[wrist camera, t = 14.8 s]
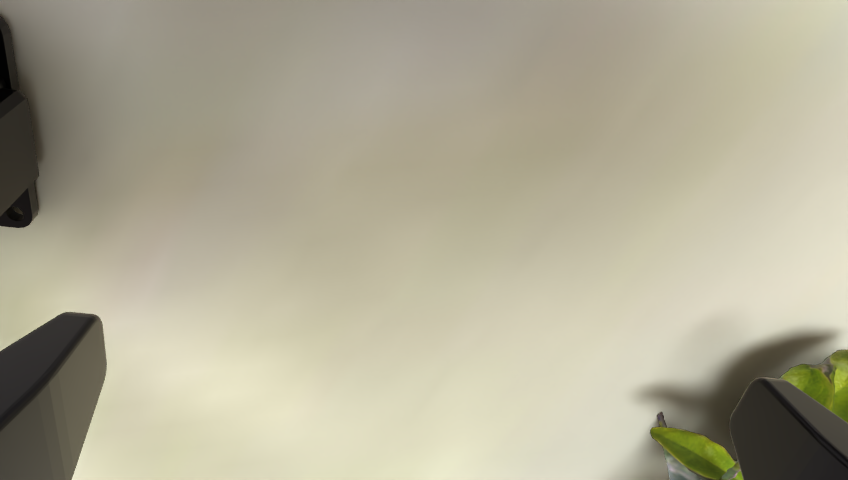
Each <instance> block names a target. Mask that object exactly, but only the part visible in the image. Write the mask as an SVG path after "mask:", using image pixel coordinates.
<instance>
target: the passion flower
mask: <svg viewBox="0 0 848 480" xmlns="http://www.w3.org/2000/svg"><path fill="white" fill-rule="evenodd" d="M779 379H783V380H786V381H788V382H790V383H791V384H793V385H794V386H796V387H797V388H798V389H800V390H801V391H803V392H804V393H806V394H807V395H808V396H810V397H811V398H813V399H814V400H816V401H817V402H818V403H820V404H821V405H823V406H824V407H826V408H827V409H828V410H830V411H831V412H833V413H834V414H836V415H837V416H839V417H840V418H841V419H843V420H844V421H846V422H847V423H848V350H837V352H835V353H833V354H832V355H831V356H829V357H828V358H826V359H825V360H824V362H823V363H821V364H818V365H807V364H801V365H798V366H795V367H792V368H790V369H789V371H788V372H786V373H785V374H783V375H782V376H781V377H780V378H779ZM657 417H658V421H659V425H660V427H654V428H652V429H651V430H650V433H651V436H652V438H653V439H655V440H656V441H657V442H658V443H659V444H660V445H661V446H662V447H663V449H664V454H665V459H666V462H667V466H668V472H669V479H670V480H743V477H742V473H741V470H740V466H739V463H738V460H737V461H736V460H733V459H732V458H731V456H730V454H729V453H728V452H727V450H726V449H725V448H724V447H723V446H722V445H720V444H717V443H714V442H713V441H711V440H710V439H709V438H708V437H706V436H704V435H701V434H697V433H693V432H690V431H687V430H683V429H676V428H667V426H666V423H665V421H664V416H663V413H662V412H661V413H660V414H658V415H657Z"/></svg>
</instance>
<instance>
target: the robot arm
mask: <svg viewBox="0 0 848 480" xmlns="http://www.w3.org/2000/svg"><path fill="white" fill-rule="evenodd" d="M38 176H39V171H38V164H37V157H36V151H35V144H34V138H33V131H32V125H31V118H30V111H29V105H28V100H27V98H26V97H25V96H24V94H23V93H22V92H21V91H20V90H19V84H18V78H17V72H16V65H15V59H14V53H13V46H12V40H11V34H10V30H9V27H8V24H7V23H6V22H5V20H4V19H3V18H2V17H1V16H0V226H6V227H16V228H22V227H26V226H28V225H29V224H30V223H31V222H32V221H33V220H34V219H35V217H36V216H37V215H38V205H37V198H36V192H35V186H34V181H35V180H36V179H37V177H38ZM13 206H14V207H17V208H19V209H20V210H22V212H23V214H19V213H17V212H16V211H14V209H13ZM106 367H107V362H106V352H105V343H104V334H103V325H102V322H101V319H100V318H99V317H98V316H97V315H94V314H85V313H75V312H65V313H62V314H60V315H58V316H57V317H55V318H53V319H52V320H50V321H49V322H47V323H45V324H44V325H42V326H40V327H39V328H37V329H36V330H34V331H32V332H31V333H29V334H28V335H26V336H24V337H23V338H21V339H19V340H18V341H16V342H15V343H13V344H11V345H10V346H8V347H6V348H5V349H3V350H2V351H0V480H72V477H73V474H74V471H75V468H76V465H77V462H78V459H79V456H80V453H81V450H82V447H83V444H84V441H85V438H86V435H87V432H88V429H89V426H90V423H91V420H92V417H93V414H94V411H95V408H96V405H97V401H98V398H99V395H100V392H101V389H102V386H103V383H104V380H105V375H106ZM729 428H730V435H731V438H732V442H733V445H734V449H735V452H736V456H737V459H738V463H739V466H740V470H741V473H742V477H743V480H848V423H847V422H846V421H844V420H843V419H841V418H840V417H839V416H837V415H836V414H834V413H833V412H831V411H830V410H828V409H827V408H826V407H824V406H823V405H821V404H820V403H818V402H817V401H816V400H814V399H813V398H811V397H810V396H808V395H807V394H806V393H804V392H803V391H801V390H800V389H798V388H797V387H796V386H794V385H793V384H791V383H790V382H788V381H786V380H783V379H777V378H767V377H758V378H756V379H754V380H753V381H751V383H750V384H749V386H748V387H747V389H746V391H745V392H744V394H743V396H742V397H741V399H740V401H739V402H738V404H737V406H736V408H735V409H734V411H733V413H732V415H731V417H730V423H729Z"/></svg>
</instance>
